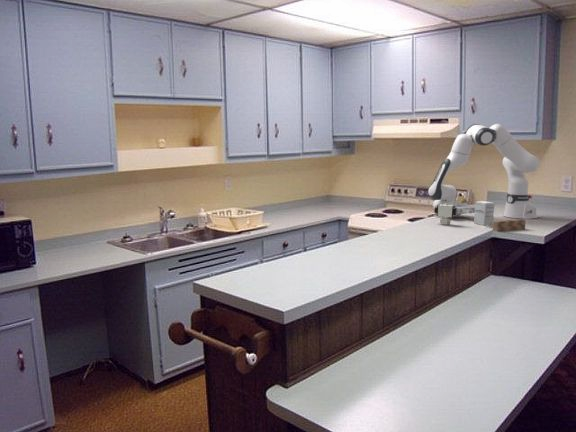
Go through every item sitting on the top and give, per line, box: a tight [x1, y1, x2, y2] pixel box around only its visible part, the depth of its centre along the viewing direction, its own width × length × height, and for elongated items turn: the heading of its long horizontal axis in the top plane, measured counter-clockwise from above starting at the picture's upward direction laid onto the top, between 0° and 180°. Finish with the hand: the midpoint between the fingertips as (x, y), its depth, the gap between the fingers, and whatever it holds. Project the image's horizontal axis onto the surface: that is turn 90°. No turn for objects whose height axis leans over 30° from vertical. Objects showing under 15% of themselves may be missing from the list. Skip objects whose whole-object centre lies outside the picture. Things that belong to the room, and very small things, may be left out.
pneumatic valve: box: [434, 203, 458, 226], centre depth 286 cm, size 6×12×12 cm, turn 59°
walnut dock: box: [485, 218, 527, 232], centre depth 277 cm, size 20×12×5 cm, turn 114°
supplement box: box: [473, 200, 495, 226], centre depth 289 cm, size 7×7×13 cm
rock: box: [456, 195, 469, 204], centre depth 339 cm, size 11×9×10 cm
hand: (470, 211), depth 299 cm, fingers closed
